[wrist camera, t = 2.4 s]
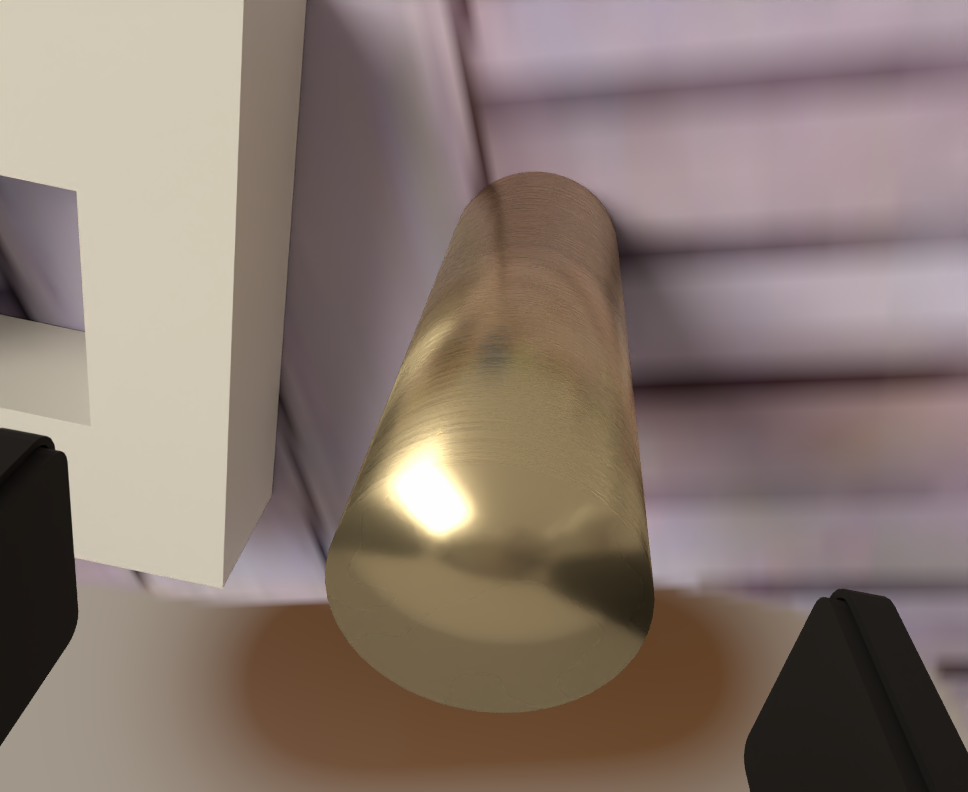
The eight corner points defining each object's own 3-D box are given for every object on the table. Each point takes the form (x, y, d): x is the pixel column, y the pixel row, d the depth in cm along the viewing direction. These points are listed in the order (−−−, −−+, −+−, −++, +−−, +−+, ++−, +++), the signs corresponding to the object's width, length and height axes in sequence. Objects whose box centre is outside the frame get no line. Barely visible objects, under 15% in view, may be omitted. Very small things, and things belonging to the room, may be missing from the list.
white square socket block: (307, -22, 18) (243, -6, 15) (271, 495, 25) (222, 588, 22) (-246, -140, 18) (-441, -151, 15) (-128, 411, 25) (-240, 492, 22)
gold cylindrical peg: (637, 191, 20) (697, 504, 9) (595, 343, 22) (606, 738, 11) (467, 155, 20) (341, 429, 9) (441, 310, 22) (312, 677, 11)
